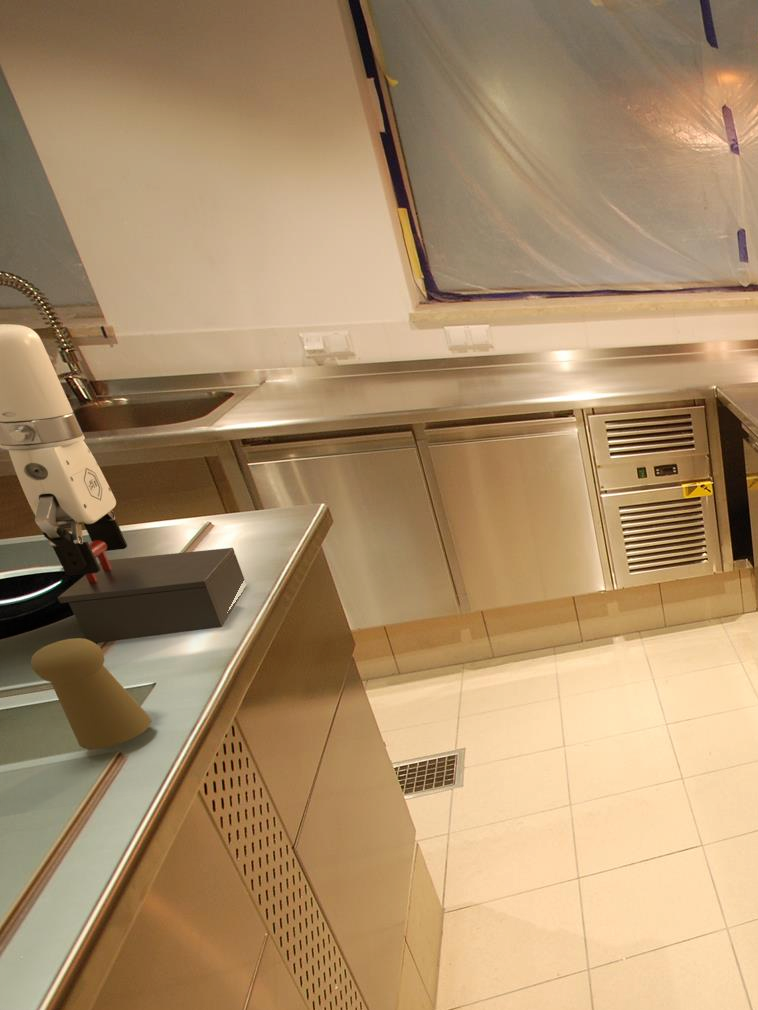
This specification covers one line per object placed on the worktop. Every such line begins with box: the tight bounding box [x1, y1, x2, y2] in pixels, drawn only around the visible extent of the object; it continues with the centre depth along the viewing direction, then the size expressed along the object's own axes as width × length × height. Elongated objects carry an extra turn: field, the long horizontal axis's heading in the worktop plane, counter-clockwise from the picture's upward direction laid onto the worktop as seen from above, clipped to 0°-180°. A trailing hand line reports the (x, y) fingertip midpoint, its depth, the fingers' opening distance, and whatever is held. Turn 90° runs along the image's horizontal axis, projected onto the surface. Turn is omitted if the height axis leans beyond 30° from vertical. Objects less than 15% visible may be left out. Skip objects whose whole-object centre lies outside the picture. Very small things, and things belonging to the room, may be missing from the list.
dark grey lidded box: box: [68, 552, 246, 644], centre depth 116 cm, size 14×15×7 cm
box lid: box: [57, 540, 236, 604], centre depth 113 cm, size 15×15×5 cm
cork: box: [30, 637, 153, 750], centre depth 88 cm, size 6×6×11 cm
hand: (98, 561), depth 111 cm, fingers open, 9 cm apart
